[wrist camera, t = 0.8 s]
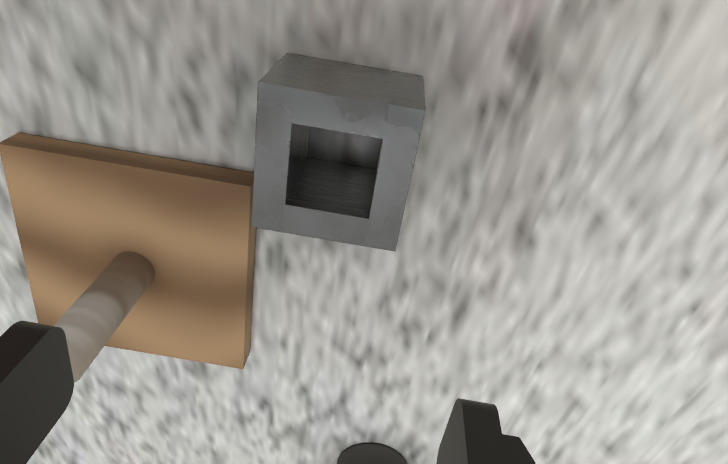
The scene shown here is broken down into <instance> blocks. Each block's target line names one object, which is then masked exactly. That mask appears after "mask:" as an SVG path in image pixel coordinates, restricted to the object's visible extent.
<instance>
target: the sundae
mask: <svg viewBox="0 0 728 464" xmlns="http://www.w3.org/2000/svg"><path fill="white" fill-rule="evenodd" d="M337 464H407V463H406V461H405V459H404V458H403V457H402V455H400V454H399V453H398V452H397V451H395V450H393V449H392V448H390V447H387V446H384V445H380V444H373V443H364V444H358V445H355V446H352V447H350V448H348V449H346V450H345V451H344V452H342V453H341V455H340V456H339V458H338V461H337Z"/></svg>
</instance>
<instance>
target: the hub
mask: <svg viewBox="0 0 728 464" xmlns="http://www.w3.org/2000/svg"><path fill="white" fill-rule="evenodd" d="M424 115H425V97H424V83H423V76H418V75H412V74H407V73H401V72H395V71H389V70H383V69H377V68H372V67H366V66H360V65H354V64H348V63H343V62H337V61H331V60H325V59H319V58H314V57H308V56H302V55H296V54H290V53H287V54H286V55H285V56H284V57H283V58H282V59H281V60H280V61H279V62H278V63H277V64H276V65H275V66H274V67H273V68H272V69H271V70H270V71H269V72H268V73H267V74H266V75H265V76H264V77H263V78H262V79H261V80H260V81H259V82H258V95H257V118H256V141H255V163H254V186H253V209H252V227H255V228H261V229H267V230H272V231H278V232H284V233H290V234H296V235H302V236H308V237H314V238H319V239H325V240H331V241H337V242H343V243H349V244H355V245H361V246H366V247H372V248H378V249H384V250H390V251H395V250H396V246H397V241H398V236H399V232H400V227H401V222H402V218H403V213H404V208H405V204H406V199H407V194H408V190H409V185H410V180H411V176H412V171H413V166H414V162H415V157H416V152H417V148H418V143H419V138H420V134H421V129H422V124H423V120H424ZM310 127H316V128H322V129H328V130H333V131H339V132H345V133H351V134H357V135H363V136H368V137H374V138H380V139H382V141H381V146H380V152H379V158H378V163H377V169H372V168H366V167H360V166H355V165H349V164H343V163H337V162H331V161H325V160H320V159H314V158H308V157H307V153H308V143H309V132H310Z"/></svg>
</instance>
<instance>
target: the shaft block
mask: <svg viewBox="0 0 728 464" xmlns="http://www.w3.org/2000/svg"><path fill="white" fill-rule="evenodd" d="M0 155H1V160H2V164H3V168H4V173H5V177H6V182H7V186H8V190H9V195H10V199H11V204H12V208H13V213H14V217H15V221H16V226H17V230H18V235H19V239H20V244H21V248H22V252H23V257H24V261H25V266H26V270H27V274H28V279H29V283H30V288H31V292H32V297H33V301H34V305H35V310H36V314H37V319H38V323H39V324H44V325H50V326H55V327H60V328H62V329H63V330H64V332H65V335H66V340H67V346H68V351H69V357H70V362H71V367H72V373H73V378H74V382H76V381H78V380H79V379H80V378H81V376H82V375H83V374H84V372H85V371H86V370H87V368H88V367H89V366H90V364H91V363H92V362H93V360H94V359H95V358H96V356H97V355H98V354H99V352H100V351H101V349H102V348H103V347H104V346H109V347H115V348H121V349H127V350H133V351H139V352H145V353H151V354H157V355H163V356H169V357H175V358H180V359H186V360H192V361H198V362H204V363H210V364H216V365H222V366H228V367H234V368H240V369H243V368H244V366H245V363H246V361H247V358H248V355H249V353H250V343H251V322H252V302H253V281H254V261H255V240H256V228H255V227H252V209H253V186H254V173H251V172H245V171H240V170H234V169H228V168H222V167H216V166H210V165H204V164H199V163H193V162H187V161H181V160H175V159H169V158H164V157H158V156H152V155H146V154H140V153H134V152H128V151H123V150H117V149H111V148H105V147H99V146H93V145H87V144H82V143H76V142H70V141H64V140H58V139H52V138H46V137H41V136H35V135H29V134H23V133H17V134H15V135H14V136H12V137H10V138H8V139H6V140H4V141H2V142H0Z"/></svg>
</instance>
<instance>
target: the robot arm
mask: <svg viewBox="0 0 728 464" xmlns="http://www.w3.org/2000/svg"><path fill="white" fill-rule="evenodd" d="M73 387H74V378H73V373H72V367H71V362H70V357H69V351H68V346H67V340H66V335H65V332H64V330H63V329H62V328H60V327H55V326H50V325H44V324H38V323H33V322H27V321H19V322H16V323H15V324H13V325H12V326H11V327H10V328H9V329H8V330H7V331H6V332H5V333H4V334H3V335H2V336H1V337H0V464H26V463H27V462H28V460H29V459H30V458H31V456H32V455H33V454H34V452H35V451H36V449H37V448H38V447H39V445H40V444H41V443H42V441H43V440H44V439H45V437H46V436H47V434H48V433H49V432H50V430H51V429H52V428H53V426H54V425H55V424H56V422H57V421H58V419H59V418H60V417H61V415H62V414H63V413H64V411H65V410H66V408H67V406H68V404H69V402H70V399H71V396H72V393H73ZM437 464H535V462H534V460H533V458H532V457H531V455H530V454H529V452H528V450H527V449H526V447H525V446H524V444H523V442H522V441H521V439H520V438H519V437H515V436H509V435H504V434H502V432H501V426H500V420H499V415H498V410H497V408H496V406H495V405H493V404H487V403H482V402H476V401H470V400H465V399H459V398H458V399H457V400H456V402H455V404H454V407H453V410H452V413H451V415H450V418H449V421H448V424H447V427H446V430H445V432H444V435H443V438H442V441H441V444H440V447H439V452H438V457H437Z"/></svg>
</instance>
